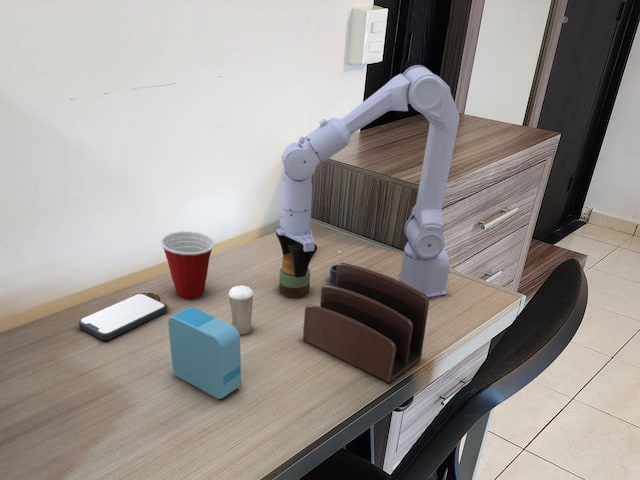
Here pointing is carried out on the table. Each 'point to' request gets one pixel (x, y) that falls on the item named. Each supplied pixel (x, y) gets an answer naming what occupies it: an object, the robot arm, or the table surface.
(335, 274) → the small cup
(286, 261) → the orange short cylinder
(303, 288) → the walnut chip
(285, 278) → the sage chip
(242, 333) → the milkshake
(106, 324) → the smartphone
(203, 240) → the plastic cup
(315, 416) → the table surface
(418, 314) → the letter holder
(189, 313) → the data package
